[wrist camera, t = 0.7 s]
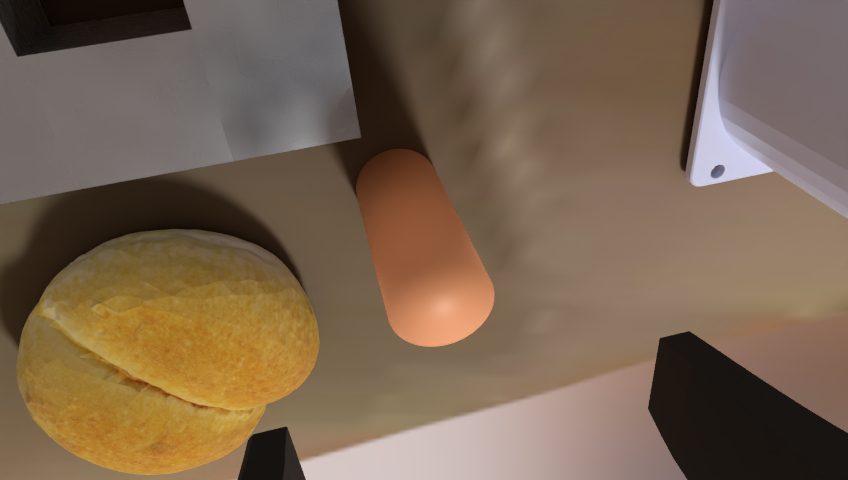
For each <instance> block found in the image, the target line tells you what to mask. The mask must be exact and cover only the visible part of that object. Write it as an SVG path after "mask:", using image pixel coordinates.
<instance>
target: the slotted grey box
mask: <svg viewBox="0 0 848 480" xmlns="http://www.w3.org/2000/svg"><path fill="white" fill-rule="evenodd" d="M183 1H184V4H185V6H184V7H177V8H171V9H164V10H158V11H151V12H145V13H138V14H132V15H125V16H118V17H112V18H105V19H99V20H92V21H86V22H79V23H72V24H66V25H59V26H53V27H51V24H50V22H49V20H48V18H47V15H46V13H45V11H44V9H43V6H42V4H41V2H40V0H0V204H3V203H9V202H14V201H20V200H25V199H30V198H36V197H41V196H47V195H52V194H58V193H63V192H68V191H74V190H79V189H85V188H90V187H96V186H101V185H106V184H112V183H117V182H123V181H128V180H134V179H139V178H144V177H150V176H155V175H161V174H166V173H172V172H177V171H183V170H188V169H193V168H199V167H204V166H210V165H215V164H221V163H226V162H231V161H237V160H242V159H248V158H253V157H259V156H264V155H269V154H275V153H280V152H286V151H291V150H297V149H302V148H307V147H313V146H318V145H324V144H329V143H335V142H340V141H345V140H351V139H356V138H361V134H360V128H359V122H358V117H357V111H356V105H355V99H354V93H353V88H352V82H351V76H350V70H349V65H348V59H347V53H346V47H345V41H344V36H343V30H342V24H341V18H340V13H339V7H338V1H337V0H183Z"/></svg>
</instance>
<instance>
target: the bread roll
mask: <svg viewBox="0 0 848 480" xmlns="http://www.w3.org/2000/svg"><path fill="white" fill-rule="evenodd" d="M318 350H319V334H318V325H317V321H316V317H315V314H314V311H313V308H312V305H311V303H310V301H309V299H308V297H307V295H306V294H305V292H304V290H303V289H302V287H301V285H300V284H299V282H298V280H297V279H296V278H295V277H294V275H293V274H292V273H291V271H290V270H289V269H288V268H287V267H286V266H285V265H284V263H283V262H282V261H281V260H280V259H279V258H277V257H276V256H275V255H274V254H272V253H270V252H268V251H267V250H265V249H263V248H262V247H260V246H258V245H255V244H253V243H251V242H248V241H245V240H242V239H239V238H237V237H234V236H230V235H226V234H221V233H216V232H210V231H204V230H197V229H193V230H185V229H167V230H155V231H144V232H137V233H132V234H127V235H124V236H122V237H119V238H115V239H112V240H109V241H107V242H105V243H102V244H101V245H99V246H97V247H96V248H94V249H92V250H91V251H89V252H87V253H86V254H84V255H81V256H79V257H78V258H77V259H75V260H74V262H71V263H70V264H69V265H68V266H67V267H65V268H64V269H63V270H62V271H60V272H59V273H58V274H57V275H56V276H55V277H54V279H53V280H52V281H51V282H50V284H49V285H48V286H47V288H46V289H45V291H44V293H43V295H42V296H41V298H40V300H39V302H38V304H37V305H36V306H35V307H34V309H33V311H32V312H31V314H30V315H29V317H28V319H27V321H26V323H25V326H24V328H23V331H22V334H21V340H20V345H19V351H18V359H17V374H16V376H17V382H18V387H19V389H20V392H21V394H22V397H23V399H24V402H25V404H26V406H27V408H28V410H29V413H30V415H31V417H32V419H33V420H34V421H35V422H36V423H37V424H38V425H39V426H40V427H41V428H42V429H43V430H44V431H45V432H46V433H47V434H48V435H49V436H50V437H51V438H52V439H54V440H55V441H56V442H57V443H58V444H60V445H61V446H62V447H63V448H65V449H66V450H68V451H69V452H71V453H73V454H75V455H76V456H78V457H81V458H83V459H85V460H87V461H89V462H92V463H94V464H96V465H99V466H102V467H105V468H108V469H111V470H115V471H120V472H124V473H132V474H143V475H156V474H169V473H175V472H179V471H183V470H187V469H191V468H195V467H197V466H200V465H203V464H206V463H208V462H211V461H214V460H217V459H220V458H222V457H223V456H225V455H227V454H229V453H230V452H232V451H233V450H235V449H236V448H238V447H239V446H240V445H241V444H242V443H243V442H244V441H245V440H246V439H247V438H248V437H249V435H250V434H251V433H252V431H253V430H254V428H255V427H256V425H257V423H258V422H259V420H260V418H261V416H262V415H263V413H264V411H265V408H266V404H268V403H271V402H273V401H276V400H279V399H281V398H283V397H285V396H286V395H288V394H290V393H291V392H292V391H294V390H295V389H297V388H298V387H299V386H300V385H301V384H302V383H303V382H304V381H305V379H306V378H307V377H308V375H309V374H310V372H311V371H312V369H313V367H314V365H315V362H316V359H317V355H318Z"/></svg>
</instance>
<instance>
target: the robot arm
mask: <svg viewBox="0 0 848 480" xmlns="http://www.w3.org/2000/svg"><path fill="white" fill-rule="evenodd" d="M717 165H718V166H717ZM715 166H717V168H716V169H715V170H714V171H713V172H711V171H712V169H713V168H714V167H715ZM772 171H775V172H777V173H778V174H780V175H781V176H783V177H784V178H786V179H788V180H789V181H791V182H792V183H794V184H795V185H797V186H798V187H800V188H801V189H803V190H804V191H806V192H807V193H809V194H811V195H812V196H814V197H815V198H817V199H818V200H820V201H821V202H823V203H824V204H826V205H827V206H829V207H830V208H832V209H833V210H835V211H837V212H838V213H840V214H841V215H843V216H844V217H846V218H847V219H848V0H714V2H713V8H712V14H711V20H710V26H709V32H708V38H707V44H706V50H705V57H704V63H703V69H702V75H701V81H700V87H699V93H698V99H697V105H696V111H695V117H694V123H693V129H692V135H691V141H690V147H689V153H688V160H687V166H686V172H685V176H686V179H687V180H688V181H689V182H690V183H691V184H693V185H695V186H705V185H710V184H715V183H720V182H724V181H729V180H734V179H739V178H744V177H748V176H753V175H758V174H763V173H768V172H772ZM648 409H649V411H650V413H651V416H652V418H653V419H654V422H655V423H656V426H657V428H658V430H659V432H660V434H661V436H662V438H663V440H664V441H665V443H666V445H667V447H668V449H669V451H670V452H671V455H672V456H673V458H674V460H675V461H676V463H677V464H678V466H679V467H680V469H681V470H682V472H683V474H684V475H685V477H686V478H687V480H848V433H846V432H845V431H843V430H841V429H840V428H838V427H836V426H834V425H833V424H831V423H829V422H828V421H826V420H825V419H823V418H821V417H820V416H818V415H816V414H815V413H813V412H811V411H810V410H808V409H807V408H805V407H803V406H802V405H800V404H799V403H797V402H795V401H794V400H792V399H791V398H789V397H788V396H786V395H785V394H783V393H781V392H780V391H778V390H777V389H775V388H774V387H772V386H771V385H769V384H767V383H766V382H764V381H763V380H761V379H760V378H758V377H757V376H755V375H754V374H752V373H751V372H749V371H748V370H746V369H745V368H743V367H742V366H740V365H739V364H737V363H736V362H734V361H733V360H731V359H730V358H728V357H727V356H726V355H724V354H723V353H721V352H720V351H718V350H717V349H715V348H714V347H712V346H711V345H709V344H708V343H706V342H705V341H703V340H702V339H700V338H699V337H697V336H696V335H694V334H692V333H691V332H689V331H688V332H684V333H680V334H676V335H671V336H667V337H663V338H660V340H659V346H658V352H657V358H656V364H655V370H654V376H653V382H652V388H651V394H650V400H649V406H648ZM238 480H306V479H305V476H304V474H303V471H302V468H301V465H300V462H299V459H298V456H297V454H296V451H295V448H294V445H293V442H292V440H291V437H290V434H289V431H288V428H287V427H283V428H278V429H274V430H270V431H266V432H261V433H257V434H253V435H252V436H251V437H250V438H249V440H248V443H247V447H246V451H245V455H244V459H243V462H242V466H241V470H240V473H239V477H238Z"/></svg>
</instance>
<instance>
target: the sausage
mask: <svg viewBox="0 0 848 480" xmlns="http://www.w3.org/2000/svg"><path fill="white" fill-rule="evenodd" d="M356 194H357V198H358V202H359V206H360V210H361V214H362V218H363V222H364V226H365V230H366V233H367V237H368V241H369V245H370V249H371V253H372V257H373V261H374V265H375V269H376V273H377V277H378V280H379V284H380V288H381V292H382V296H383V300H384V304H385V308H386V312H387V316H388V319H389V323H390V325H391V327H392V329H393V330H394V332H395V333H396V334H397V335H398V336H400V337H401V338H402V339H404V340H406V341H407V342H410V343H412V344H415V345H419V346H430V347H433V346H442V345H447V344H451V343H454V342H457V341H459V340H461V339H463V338H465V337H467V336H468V335H470V334H471V333H473V332H474V331H475V330H477V329H478V328H479V327H480V326H481V325H482V324H483V322H484V321H485V320H486V319H487V317H488V316H489V314H490V312H491V309H492V307H493V303H494V287H493V284H492V282H491V280H490V278H489V276H488V274H487V272H486V270H485V268H484V266H483V264H482V262H481V260H480V258H479V256H478V254H477V252H476V250H475V248H474V246H473V244H472V242H471V240H470V238H469V236H468V234H467V232H466V231H465V229H464V227H463V225H462V223H461V221H460V219H459V217H458V215H457V213H456V211H455V209H454V207H453V205H452V203H451V201H450V199H449V197H448V195H447V193H446V191H445V189H444V187H443V185H442V183H441V181H440V179H439V178H438V176H437V174H436V172H435V170H434V168H433V166H432V164H431V163H430V161H429V160H428V159H427V158H426V157H424V156H423V155H421V154H420V153H418V152H415V151H413V150H409V149H391V150H387V151H384V152H381V153H379V154H378V155H376V156H374V157H373V158H371V159H370V160H369V161H368V162H367V163H366V164H365V165H364V167H363V168H362V170H361V171H360V173H359V175H358V178H357V183H356Z"/></svg>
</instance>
